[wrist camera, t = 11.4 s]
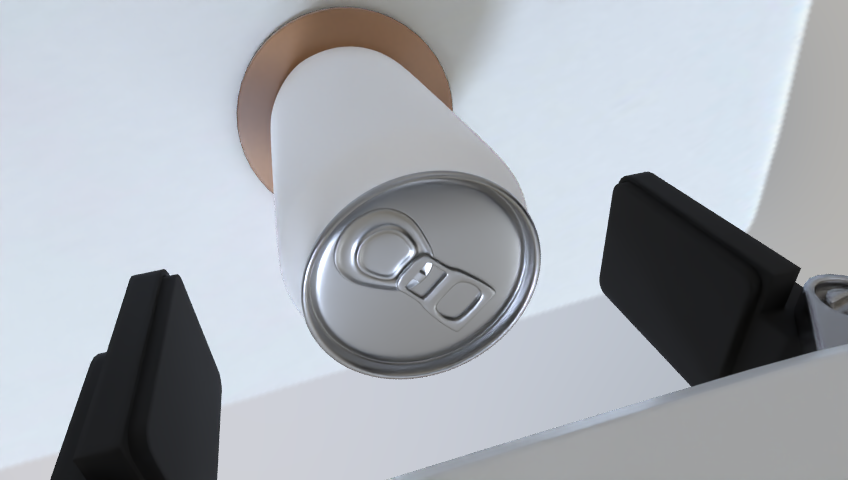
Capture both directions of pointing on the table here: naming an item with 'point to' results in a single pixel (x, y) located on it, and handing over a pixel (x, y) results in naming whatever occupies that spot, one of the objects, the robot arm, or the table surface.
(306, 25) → the coaster
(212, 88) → the table surface
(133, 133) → the table surface
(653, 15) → the table surface
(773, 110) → the table surface
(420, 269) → the can
